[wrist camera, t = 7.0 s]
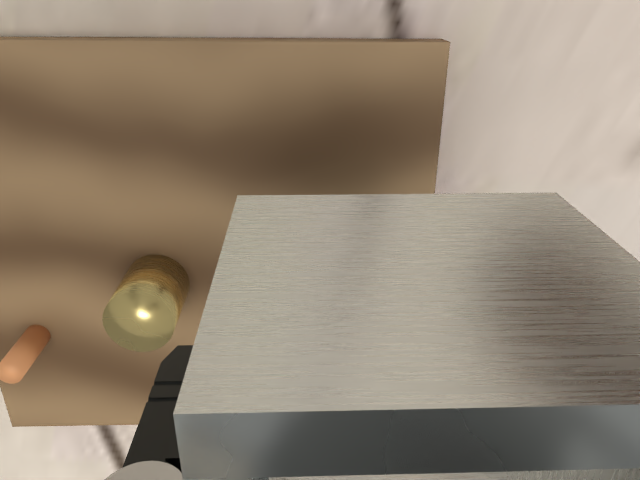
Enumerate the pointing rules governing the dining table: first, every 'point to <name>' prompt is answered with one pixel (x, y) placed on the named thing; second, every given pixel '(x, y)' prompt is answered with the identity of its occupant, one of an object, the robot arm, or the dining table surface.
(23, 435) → the dining table surface
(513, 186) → the dining table surface
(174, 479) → the robot arm
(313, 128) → the board
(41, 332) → the dowel
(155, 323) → the small yellow jar
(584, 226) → the square container with handle
